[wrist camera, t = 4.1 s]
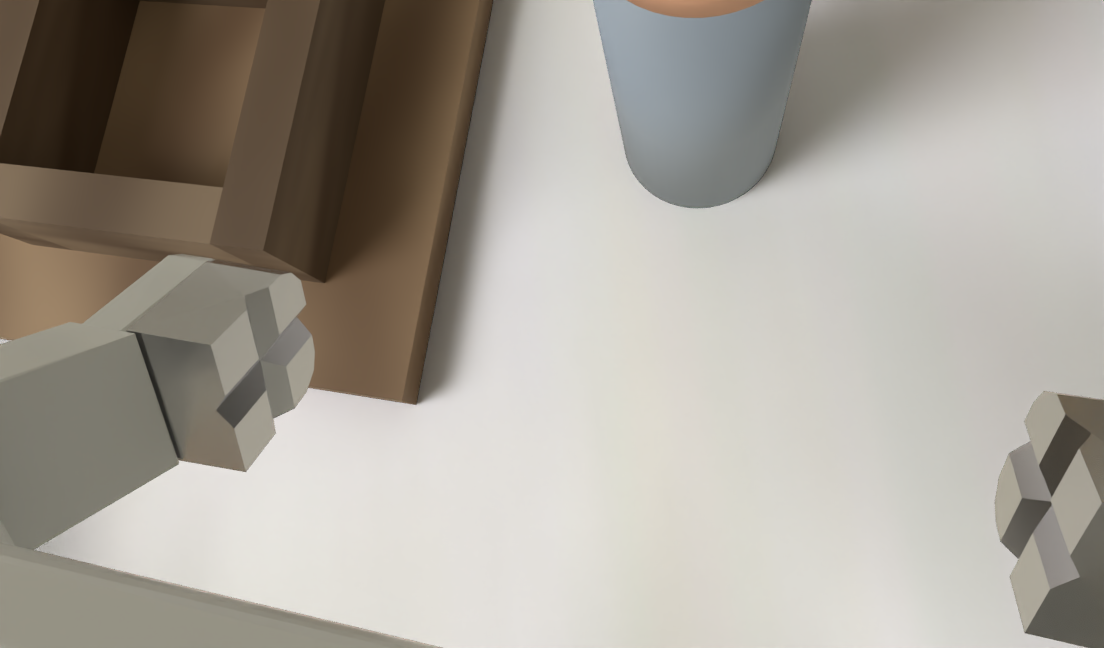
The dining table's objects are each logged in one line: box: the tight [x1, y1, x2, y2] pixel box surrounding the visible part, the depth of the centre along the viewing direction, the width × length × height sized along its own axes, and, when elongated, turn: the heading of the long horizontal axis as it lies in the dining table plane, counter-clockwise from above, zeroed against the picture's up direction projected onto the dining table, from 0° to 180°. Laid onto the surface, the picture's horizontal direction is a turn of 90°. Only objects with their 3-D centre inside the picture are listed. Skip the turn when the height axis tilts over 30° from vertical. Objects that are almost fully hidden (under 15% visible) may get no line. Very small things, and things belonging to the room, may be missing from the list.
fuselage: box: [593, 0, 812, 208], centre depth 19 cm, size 4×4×11 cm
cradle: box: [0, 0, 493, 405], centre depth 24 cm, size 16×16×5 cm
